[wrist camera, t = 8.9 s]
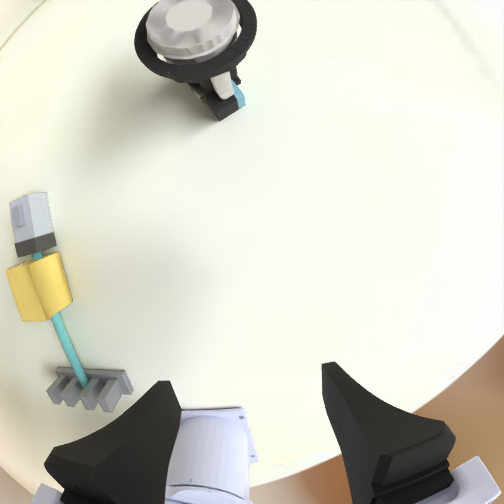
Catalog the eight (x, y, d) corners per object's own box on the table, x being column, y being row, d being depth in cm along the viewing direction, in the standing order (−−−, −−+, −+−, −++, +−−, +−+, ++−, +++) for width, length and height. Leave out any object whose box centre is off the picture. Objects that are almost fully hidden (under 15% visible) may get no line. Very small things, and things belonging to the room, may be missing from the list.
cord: (92, 382, 22) (87, 388, 21) (84, 382, 22) (80, 387, 21) (37, 220, 18) (30, 222, 18) (30, 223, 19) (23, 224, 18)
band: (56, 245, 20) (37, 252, 17) (37, 250, 20) (17, 257, 17) (53, 231, 20) (33, 237, 17) (34, 237, 20) (14, 243, 17)
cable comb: (133, 389, 23) (119, 416, 19) (67, 384, 24) (51, 405, 20) (124, 370, 23) (108, 396, 19) (58, 367, 23) (40, 387, 19)
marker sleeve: (73, 300, 21) (46, 320, 17) (48, 303, 21) (22, 321, 17) (59, 251, 20) (28, 264, 16) (35, 257, 20) (5, 269, 16)
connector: (53, 231, 20) (30, 238, 17) (34, 237, 20) (11, 244, 17) (46, 192, 19) (23, 194, 16) (27, 200, 19) (4, 203, 16)
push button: (159, 72, 17) (99, 7, 7) (219, 35, 16) (198, -50, 7) (205, 137, 18) (161, 93, 9) (269, 97, 18) (284, 24, 8)
